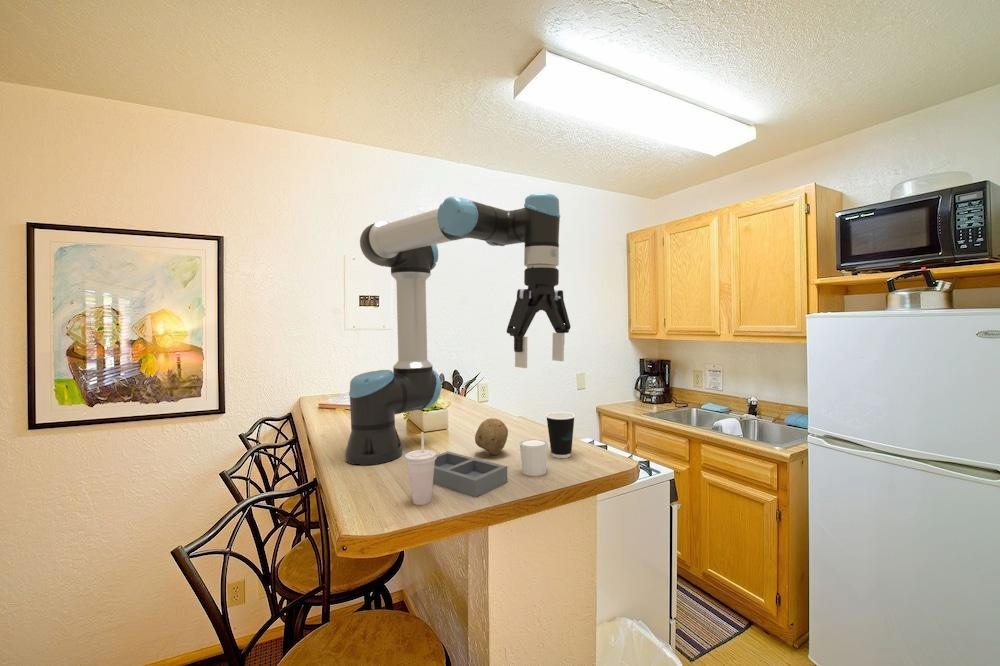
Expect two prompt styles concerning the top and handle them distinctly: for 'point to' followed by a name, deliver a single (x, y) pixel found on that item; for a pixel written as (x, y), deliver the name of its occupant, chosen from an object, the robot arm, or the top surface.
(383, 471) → the top surface
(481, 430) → the potato
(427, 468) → the smoothie
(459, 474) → the divided tray
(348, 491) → the top surface
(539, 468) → the white rounded cylinder
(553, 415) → the dixie cup
